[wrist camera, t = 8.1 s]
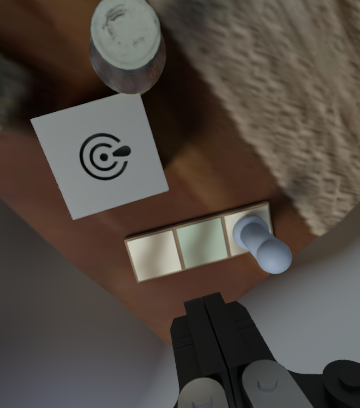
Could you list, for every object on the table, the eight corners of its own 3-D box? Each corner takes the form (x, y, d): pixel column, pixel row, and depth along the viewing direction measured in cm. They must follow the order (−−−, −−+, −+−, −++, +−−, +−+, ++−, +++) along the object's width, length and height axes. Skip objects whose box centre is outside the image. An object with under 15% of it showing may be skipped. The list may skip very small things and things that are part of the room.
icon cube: (137, 95, 36) (138, 88, 27) (161, 172, 39) (168, 190, 30) (58, 118, 36) (30, 119, 26) (88, 194, 39) (73, 219, 29)
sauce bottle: (101, 40, 34) (58, -54, 15) (155, 41, 35) (179, -47, 16) (106, 100, 36) (73, 83, 17) (157, 100, 37) (180, 84, 18)
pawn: (263, 211, 42) (300, 238, 32) (267, 242, 44) (304, 277, 34) (230, 219, 42) (257, 250, 32) (235, 250, 43) (263, 288, 34)
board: (266, 200, 43) (269, 202, 42) (272, 243, 45) (274, 246, 44) (124, 237, 41) (124, 240, 40) (137, 280, 43) (137, 283, 42)
